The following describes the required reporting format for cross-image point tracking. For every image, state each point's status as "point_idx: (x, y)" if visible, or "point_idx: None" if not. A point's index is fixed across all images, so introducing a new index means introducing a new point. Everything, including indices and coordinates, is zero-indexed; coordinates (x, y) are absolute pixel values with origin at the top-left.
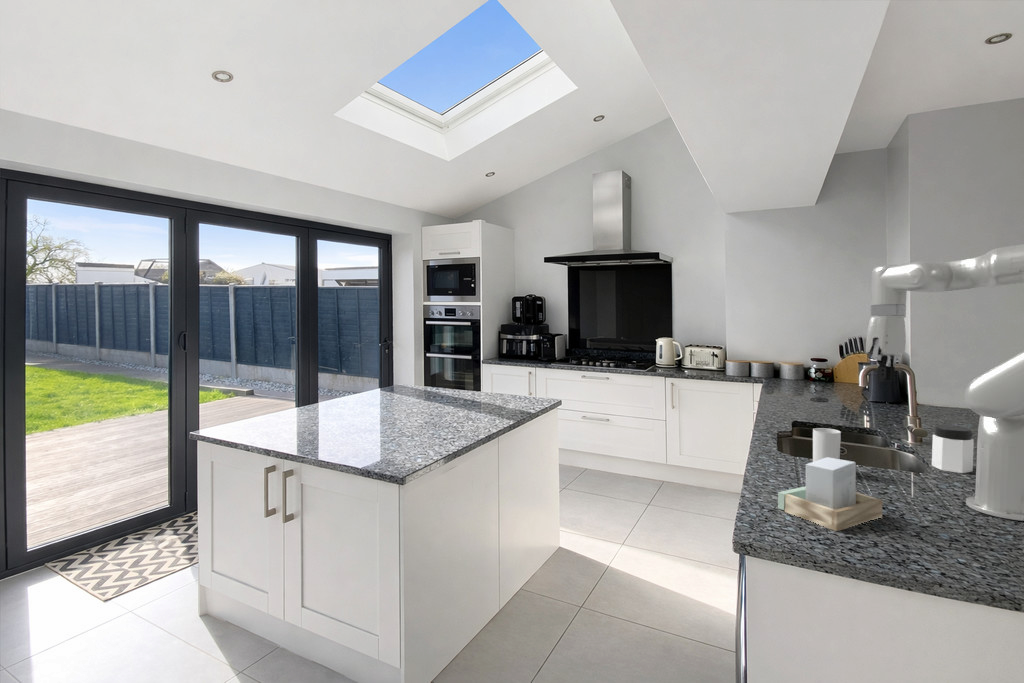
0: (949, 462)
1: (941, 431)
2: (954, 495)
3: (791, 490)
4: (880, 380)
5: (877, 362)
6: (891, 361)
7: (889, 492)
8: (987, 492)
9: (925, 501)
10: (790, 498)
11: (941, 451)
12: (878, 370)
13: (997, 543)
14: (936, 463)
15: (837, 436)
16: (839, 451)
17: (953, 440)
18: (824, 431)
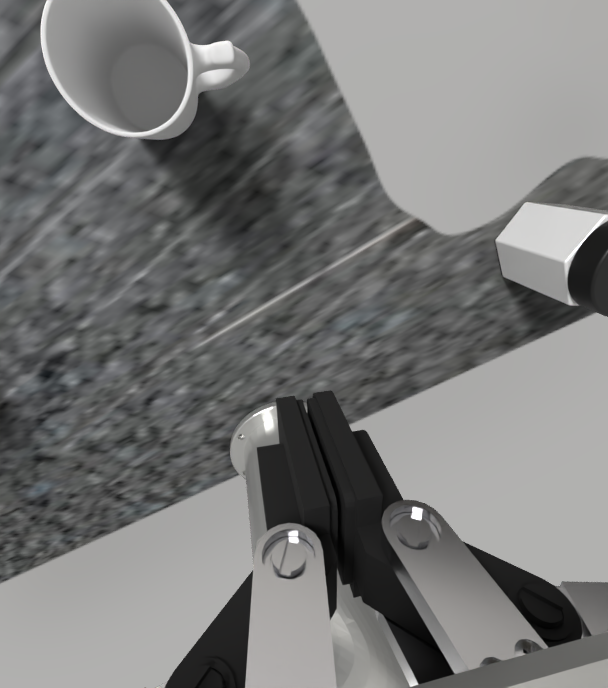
0: (513, 260)
1: (591, 259)
2: (299, 367)
3: None
4: (277, 417)
5: (253, 591)
6: (416, 628)
7: (173, 310)
8: (246, 469)
9: (194, 374)
10: None
11: (533, 249)
12: (292, 470)
13: (104, 519)
14: (518, 223)
15: (130, 137)
16: (166, 136)
17: (564, 285)
18: (163, 9)
